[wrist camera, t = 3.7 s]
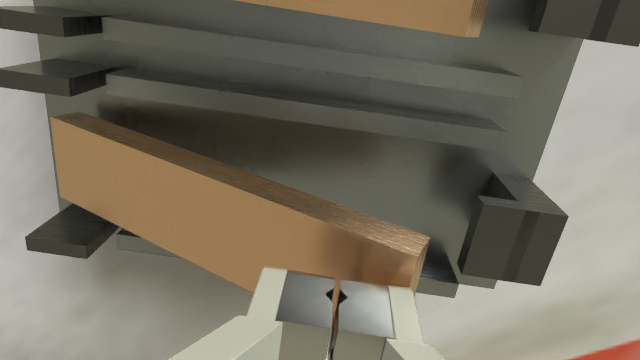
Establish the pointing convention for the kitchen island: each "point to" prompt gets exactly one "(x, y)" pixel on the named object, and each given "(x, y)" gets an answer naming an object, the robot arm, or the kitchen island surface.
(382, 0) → the strap near
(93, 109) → the grey toaster
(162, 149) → the strap far
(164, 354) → the kitchen island surface
